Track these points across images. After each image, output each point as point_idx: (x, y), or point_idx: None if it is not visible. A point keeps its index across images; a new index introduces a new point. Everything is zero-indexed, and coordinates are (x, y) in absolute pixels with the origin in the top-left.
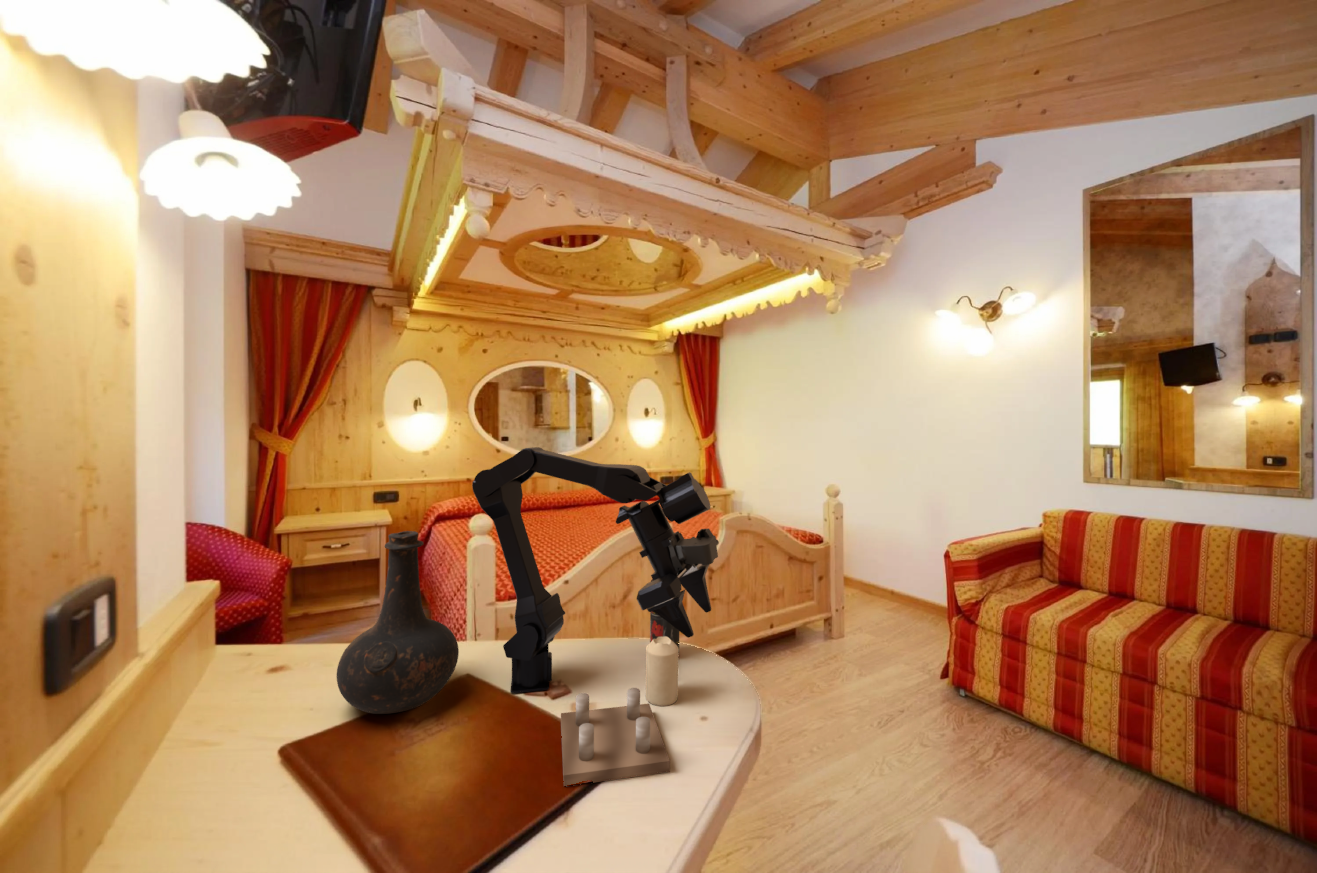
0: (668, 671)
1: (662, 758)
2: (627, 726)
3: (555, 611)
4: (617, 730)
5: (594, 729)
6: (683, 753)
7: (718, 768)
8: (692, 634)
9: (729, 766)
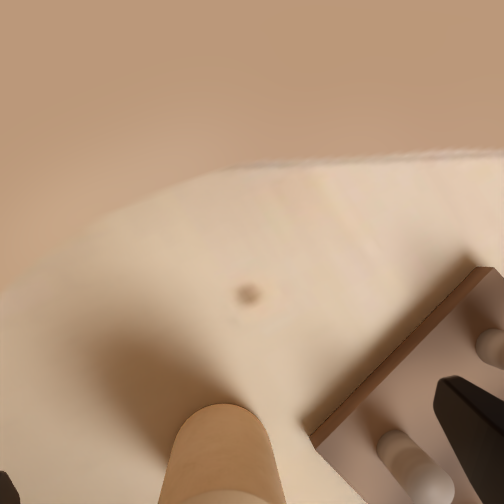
0: (261, 462)
1: (497, 286)
2: (438, 435)
3: None
4: None
5: None
6: (405, 271)
7: (407, 177)
8: (462, 379)
9: (387, 158)
